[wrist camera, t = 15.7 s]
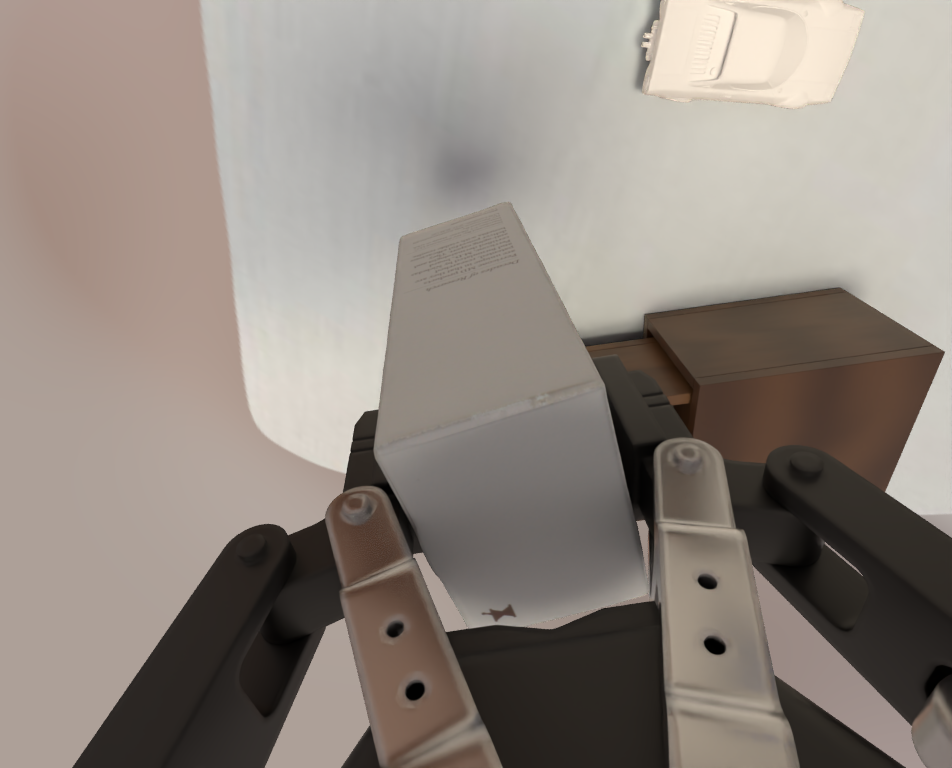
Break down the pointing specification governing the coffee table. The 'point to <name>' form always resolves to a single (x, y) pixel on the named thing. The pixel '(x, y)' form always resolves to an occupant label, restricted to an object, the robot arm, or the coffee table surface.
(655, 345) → the drawer
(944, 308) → the coffee table surface
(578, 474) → the cosmetic box
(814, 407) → the cabinet
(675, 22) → the toy car
